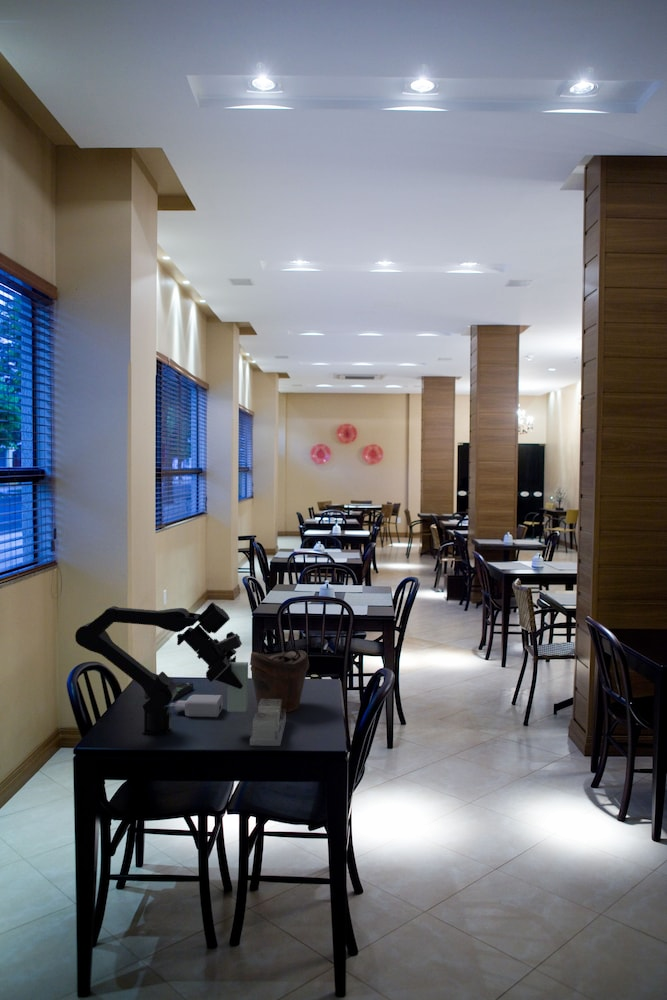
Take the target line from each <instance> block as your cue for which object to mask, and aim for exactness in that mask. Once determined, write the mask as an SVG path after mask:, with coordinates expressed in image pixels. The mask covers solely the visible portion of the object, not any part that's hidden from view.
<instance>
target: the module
mask: <svg viewBox="0 0 667 1000" xmlns="http://www.w3.org/2000/svg"><path fill="white" fill-rule="evenodd" d="M230 663H231V662H230ZM230 663H229V664H230ZM232 671H233V672H234V674H235V675H236V677H237V678H238V679H239V681H240V682H241V684H242V685H243V687H242V688H241V689H239V688H236V687H233V686H231V685H228V684H227V693H226V694H227V695H226V696H227V699H226V700H227V702H226V704H227V705H226V706H227V707H226V709H227V710H226V711H227V712H232V713H233V712H241V713H242V712H244V713H245V712H246V711H247V709H248V706H249V705H248V702H249V701H248V700H249V699H248V697H249V695H248V694H249V693H248V692H249V690H248V688H249V687H248V686H249V682H248V681H249V662H246V661H245V662H244V661H243V662H242V661H238V662H237V661H236V662H232Z"/></svg>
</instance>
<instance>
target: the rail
mask: <svg viewBox="0 0 667 1000" xmlns="http://www.w3.org/2000/svg"><path fill="white" fill-rule="evenodd" d="M281 703H282V699H261V700H260V702H259V705H257V709H258V710H257V712H255V714H254V716H253V719H252V732H251V736H250V738H249V746H261V747H264V746H265V747H267V746H268V747H269V746H270V747H276V746H277V747H279V746H281V743H282V740H283V736H284V735H283V734H284V731H285V728H286V727H285V726H286V722H287V721H286V720H287V712H286V709H283V712H281Z"/></svg>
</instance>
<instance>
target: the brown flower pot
mask: <svg viewBox="0 0 667 1000" xmlns="http://www.w3.org/2000/svg"><path fill="white" fill-rule="evenodd" d="M249 665H250V666H251V667H250V671H251V676H252V684H253V687H254V695H255V698H256V699H255V700H256V705H257V706H258V705H259V702H260V700H261V699H282V703H281V713H282V712H283V709H286V713H288V712H294V711H296V710H297V709H299V708H300V706H301V705H300V704H301V699H302V694H303V690H304V685H305V681H306V675H307V671H308V670H309V668H310V660H309V655H308V653H307V652H306V651H305V650H302V649H296V648H291V649H288V650H287V651H284V652H283V651H282V652H278V653H259V652H257V651H256V652H255V651H251V653H250V663H249Z"/></svg>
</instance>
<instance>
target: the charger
mask: <svg viewBox="0 0 667 1000" xmlns="http://www.w3.org/2000/svg"><path fill="white" fill-rule="evenodd" d="M168 707H174V709H175V711H184V715H185V716H186V717H190V718H191V717H192V718H193V717H195V718H196V717H198V718H218V717H219V715H220V713H221V712H222V710H223V695H222V694H192V695H189V697H188V698H187V699H186V700H182V699H181V700H177V701H176V702H170V704H168Z"/></svg>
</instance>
